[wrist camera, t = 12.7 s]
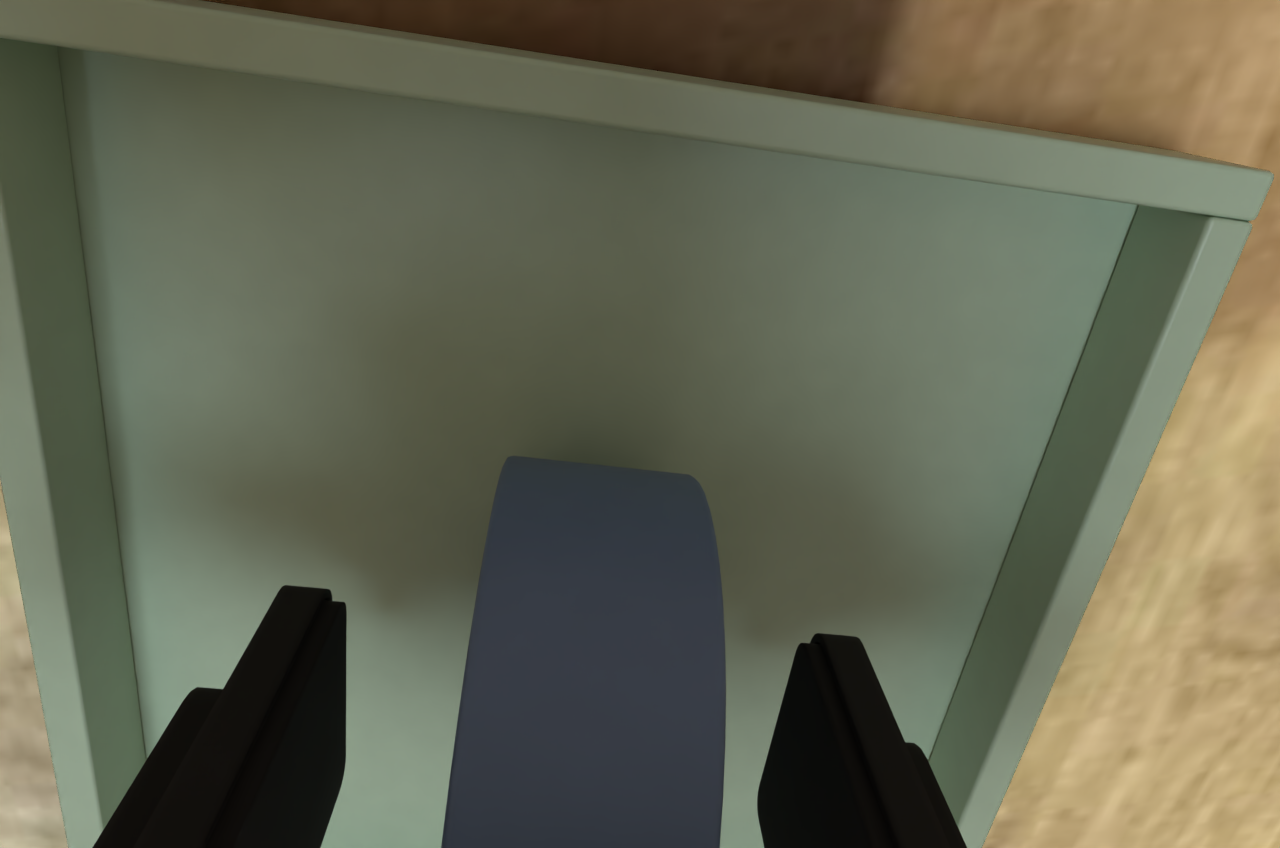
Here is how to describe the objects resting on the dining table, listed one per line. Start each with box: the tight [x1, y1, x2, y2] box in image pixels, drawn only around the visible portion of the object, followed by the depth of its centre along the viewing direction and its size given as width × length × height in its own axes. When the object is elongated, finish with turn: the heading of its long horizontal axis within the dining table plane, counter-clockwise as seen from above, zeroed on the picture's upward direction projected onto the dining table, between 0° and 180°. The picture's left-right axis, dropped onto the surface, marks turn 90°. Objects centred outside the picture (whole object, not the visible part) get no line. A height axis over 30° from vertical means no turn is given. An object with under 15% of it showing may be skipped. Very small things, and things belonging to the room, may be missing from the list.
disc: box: [441, 456, 726, 848], centre depth 11 cm, size 7×2×7 cm, turn 172°
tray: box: [0, 0, 1274, 848], centre depth 13 cm, size 15×15×2 cm
